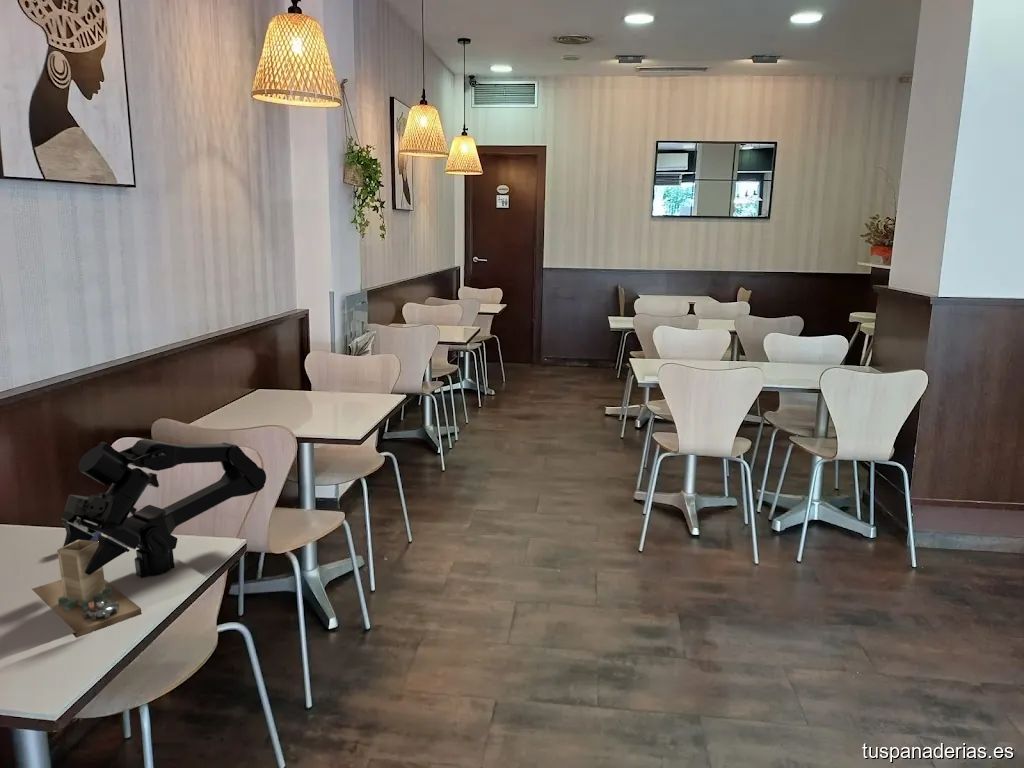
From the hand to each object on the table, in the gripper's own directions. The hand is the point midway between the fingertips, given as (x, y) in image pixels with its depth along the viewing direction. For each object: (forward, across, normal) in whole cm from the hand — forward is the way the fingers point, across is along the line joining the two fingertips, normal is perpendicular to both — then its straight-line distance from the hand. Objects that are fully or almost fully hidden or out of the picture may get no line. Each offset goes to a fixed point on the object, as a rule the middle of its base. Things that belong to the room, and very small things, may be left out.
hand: (73, 568), depth 145 cm
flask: (-6, -28, +18) cm, 34 cm away
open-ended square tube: (+4, 0, +6) cm, 7 cm away
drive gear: (+5, +8, +5) cm, 11 cm away
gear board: (+5, 0, +7) cm, 8 cm away
